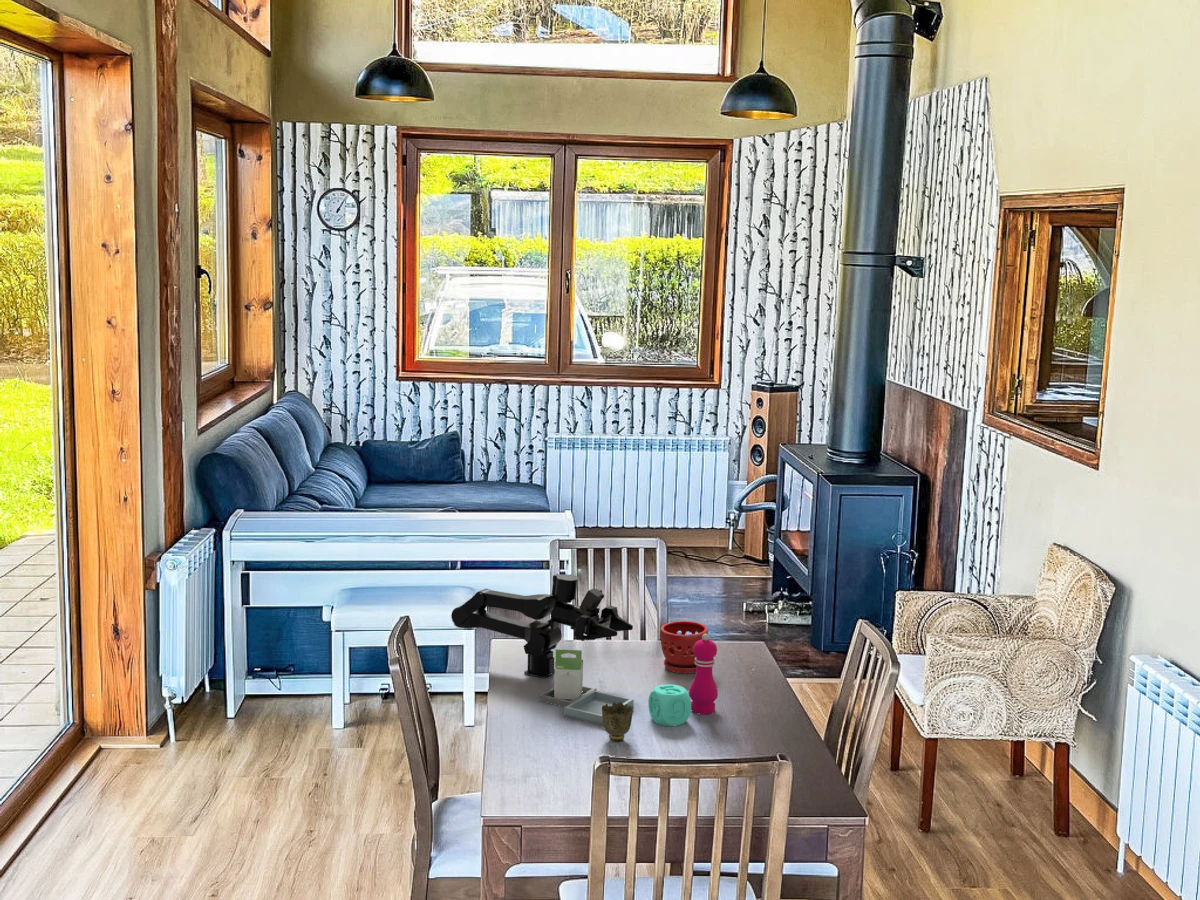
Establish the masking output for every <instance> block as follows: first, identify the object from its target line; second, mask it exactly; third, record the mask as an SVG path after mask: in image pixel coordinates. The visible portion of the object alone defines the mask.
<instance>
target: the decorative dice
mask: <svg viewBox="0 0 1200 900" xmlns="http://www.w3.org/2000/svg"><path fill="white" fill-rule="evenodd" d="M691 702H692V699H691V698H690V696H689V691H687V689H686V688H685V687H684V686H682V685H677V684H670V683H669V684H661V685H657V686H656V687H654V688H653V689H652V691H651V692H650V693H649V696H648V711H649V714H650V718H651V719H652V721H653V722H654V723H655V722H656V723H655V724H657V725H659V724H660V726H663V725H665V726H664V727H675V726H674V725H679V726H681V724H682V725H684V724H685V723H687V721H688V719H689V718H690V717H691V713H692V711H691Z"/></svg>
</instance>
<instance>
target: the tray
mask: <svg viewBox="0 0 1200 900" xmlns="http://www.w3.org/2000/svg"><path fill="white" fill-rule="evenodd" d="M634 700H635V699H634V698H630V697H628V696H627V697H626V696H622V695H621V696H620V695H618V694H617V695H616V694H614V693H613V694H612V693H610V692H604V691H603V692H602V691H599V690H596V691H595V690H593V691H592V692H590V693H588V694H586V695H585V696H583V697H581V698H580V699H578V700H576V701H575V702H573V703H571V704H569V705H568V706H566V707H563V708H564V709H563V710H564V711H563V712H564V716H563V717H564V718H566V717H567V719H570V718H571V720H575V721H579V722H584V723H586V724H587V723H588V724H592V725H597V726H601V727H604V725H603V718H602V706H603V705H604V706H605V705H606V704H608V707H609V706H612V705H613V704H612V703H613V702H615V703H616V704H617V703H619V702H622V703H623V705H624V706H625V704H627V705H628V707H629V706H630V705H631V707H632V708H633V709H634Z"/></svg>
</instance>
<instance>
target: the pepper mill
mask: <svg viewBox="0 0 1200 900" xmlns="http://www.w3.org/2000/svg"><path fill="white" fill-rule="evenodd" d="M693 653H694V655H695V656H696V658H695V664H696V672H695V675H694V679H693V680H692V682H691V684H690V687H689V691H688V694H689V696H690V700H691V710H692V711H693V712H692V711H691V712H692V713H694V712H695V714H697V713H700V714H699V715H712V714H713V713H715V711H716V703H715V702H716V701H717V698H718V695H719V694H718V687H717V684H716V682H715V679H714V676H713V666H715V657H716V656H717V654H718V647H717V644H716V643H715V641H713V640H711V639H710V636H709V633H708V634H703V636H702V639H701V640H698V641H697V642H696V643H695V644H694V647H693Z"/></svg>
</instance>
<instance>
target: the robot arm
mask: <svg viewBox="0 0 1200 900" xmlns="http://www.w3.org/2000/svg"><path fill="white" fill-rule="evenodd" d="M578 582H579V577H578V576H577V575H574V574H572V573H571V574H566V573H565V574H559V573H556V574H553V575H552V589H551V593H550V594H547V593H546V594H545V593H544V594H543V593H541V594H540V593H539V594H531V595H523V594H517V593H510V592H505V591H498V590H494V589H493V590H492V589H490V588H484V589H482V590H479V591H477V592H476V593H475V594H474V595H472V597H471V598H469V600H468V599H467V601H465V602H464V603H463V604H462V605H459V606H458V607H455V608H454V609H453V610H452V612H451V615H450V616H451V621H452V623H453V625H454V626H455V627H456V628H459V629H478V628H480V629H485V630H488V631H493V632H496V633H499V634H503V635H506V636H510V637H515V638H518V639H521V640H524V641H525V642H526V643H525V644H524V645H523V649H524V653H525V654H526V655H527V670H525V671H524V675H529V676H533V677H539V678H542V677H545V678H547V677H548V676H550V675H552V674H555V657H554V651H553V650H554V649H555V650H556V649H557V645H558V644H559V643H560V642H561V640H562V637H563V635H562V634H563V633H562V630H561V629H560V624H561V625H565V626H567V627H569V628H570V630H574V634H573V637H575V639H576V640H579V641H582V642H584V641H591V640H592V641H593V640H597V639H605V638H610V637H611V638H612V637H617V636H618V632H623V631H624V632H625V631H626V632H627V631H632V630H633V629H634V625H633V624H631V623H630V622H628V621H626V620H625V619H623V618H622V617H621V616H619V613H618V612H619V611H618V607H617V606H614V605H608V606H606V607H604V608H603V609H601V612H600V607H599V606H600V604H601V602H602V600H603V599H604V597H605V594H604V593H603V590H602V589H598V588H591V589H588V590H587V592H586V593H585V595H584V598H583V599H582V601H581V604H580V605H574V604H571V603H572V602H573V601H574V600H576V599H577V593H578ZM488 607H492V608H498V609H503V610H508V611H516V612H519V613H521V614H523V616H525V617H526V618H530V619H533V620H534V621H532V622H530V623H529V622H525V621H523V620H522V621H521V620H518V619H514V618H511V617H508V616H503V615H501V614H495V613H492V612H488V610H486V609H487V608H488ZM599 613H600V614H599ZM549 616H550V618H549V619H548V620H546V619H544V618H546V617H549ZM551 673H552V674H551ZM546 676H547V677H546Z"/></svg>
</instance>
